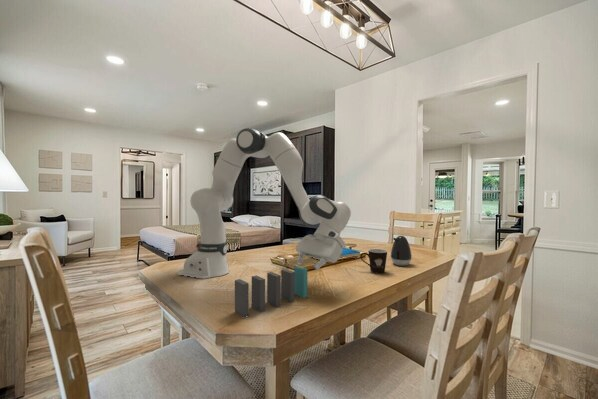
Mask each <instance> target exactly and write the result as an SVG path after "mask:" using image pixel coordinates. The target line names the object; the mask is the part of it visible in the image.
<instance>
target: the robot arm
mask: <svg viewBox="0 0 598 399" xmlns="http://www.w3.org/2000/svg"><path fill="white" fill-rule="evenodd" d="M250 157H251V158H253V159H258V160H259V159H260V160H266V159H269V158H270V159H271V160H272V162H273V163H274V164H275V167H276V168H277V170H278V171H279V173H280V175H281V177H282V179H283V181H284V183H285V186H286V188H287V190H288V192H289V193H290V196H291V198H292V199H293V201H294V203H295V205H296V207H297V211H298V215H299V216H298V217H299V219H300V222H301V223H302V224H303V225H304V226H306V227H308V228H310V229H311V228H316V227H317V228H316V230H315V232H314V233H313V234H307V235H305V236H303V237H302V238H301V239H300V240H299V242H298V243H297V244H296V246H295V251H296V252H297V253H298V256H297V257H298V258H297V260H296V263H297V264H298V265H300V266H301V265H302V264H303V263H304V260H303V258H305V257H309V258H311V257H313V258H317V259H320V261H318V262H315V263H314V264H313V269H314V270H316V271H319V270H320V268H321V267H322V266H324V265H325V264H327V263H326V262H327V261H328V263H332V264H334V263H337V262H338V261H337V260H338V259H339V257H340V255H341V253H342V251H343V249H342V248H346V245H347V244H346V243H345V241H344V239H343V238H342V236H340V235H341V233H342V232H343V231H344V229H345V228H346V227H347V225H348V223H349V222H350V221H349V220H350V218H351V216H352V215H351V214H352V211H351V209H350V206H348V204H347V203H345V202H343V201H335V200H331V199H330V198H328V197H327V196H325V195H322V194H315V195H313V196H312V197H311V198H310V197H309V196H308V194H307V191H306V190H305V188H304V186H303V181H302V177H303V170H304V162H303V158H302V156H301V154H300V152H299V151H298V149H297V148H296V147H295V145H294V143H292V141H291V140H290V139H289V138H288V137H287V135H286V134H285V133H283V132H275V133H272V134H270V135H269V136H267V135H266V134H265V133H263V132H261V131H259V130H257V129H254V128H249V127H247V128H244V129H241V130H240V131H239V132H238V133H237V135H236V138H235V137H234V138H233V137H232V138H230V139H228V141H227V142H226V144H225V145H224V146H223V149H221V152H220V154H219V156H218V157H217V161H216V163H215V165H214V166H213V167H214V168H213V169H212V172H211V174H212V179H213V180H212V184H211V187H210V188H207V187H206V188H205V187H204V188H200V189H198V190H196V191H194V192H192V194H191V196H190V205H191V208H192V209H193V210H194V211H195V213H196V215H197V217H198V222H199V226H200V242H199V243H197V244H195V245H194V246H195V247H194V248H197V249H196V251H194V253H192V254H191V255H189V257H187V258H186V259H185V261H184V263H183V267H182V269H180V270H178V272H177V275H178V274H179V275H178V276H180V275H184V276H183V277H187V276H190V277H189V278H194V277H196V279H203V280H204V279H209V278H215V277H221V276H224V275H227V274H229V272H230V269H229V264H228V259H227V258H228V257H227V251H228V243H227V239H226V238H227V234H226V233H227V231H226V229H227V227H226V226H227V225H226V223H225V222H224V221H223V218H222V213H221V212H225V211H227V210H228V209H230V208H231V207H232V206H233V203H234V196H233V195H234V188H235V185H236V181H237V180H238V177H239V175H240V173H241V171H242V169H243V166H244V164H245V162H246V160H247V159H248V158H250ZM313 258H312V259H313Z"/></svg>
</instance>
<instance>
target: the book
mask: <svg viewBox="0 0 598 399" xmlns="http://www.w3.org/2000/svg"><path fill="white" fill-rule="evenodd" d="M342 249H343V251H342V253H341V255H340V257H339V258H343V257H349V256H358V257H357V258H356V259H359V258H360V256H361V251H359V250H355V249H351V248H348V247H344V248H342ZM360 259H361V258H360Z"/></svg>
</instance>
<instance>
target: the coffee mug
mask: <svg viewBox="0 0 598 399" xmlns="http://www.w3.org/2000/svg"><path fill="white" fill-rule="evenodd" d="M363 255H366V256H367V257H368V259H369V263H368V262H367V261H365V260H364V259H363V258H362V256H363ZM387 256H388V250H386V249H381V248H370V249H368V253H367V252H362V253H360V259H361V261H362V262H363V263H364V264H366V265H368V266H369V268H370V272H371V273H373V274H376V275H377V274H378V275H379V274H385V273H386V266H387Z"/></svg>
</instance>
